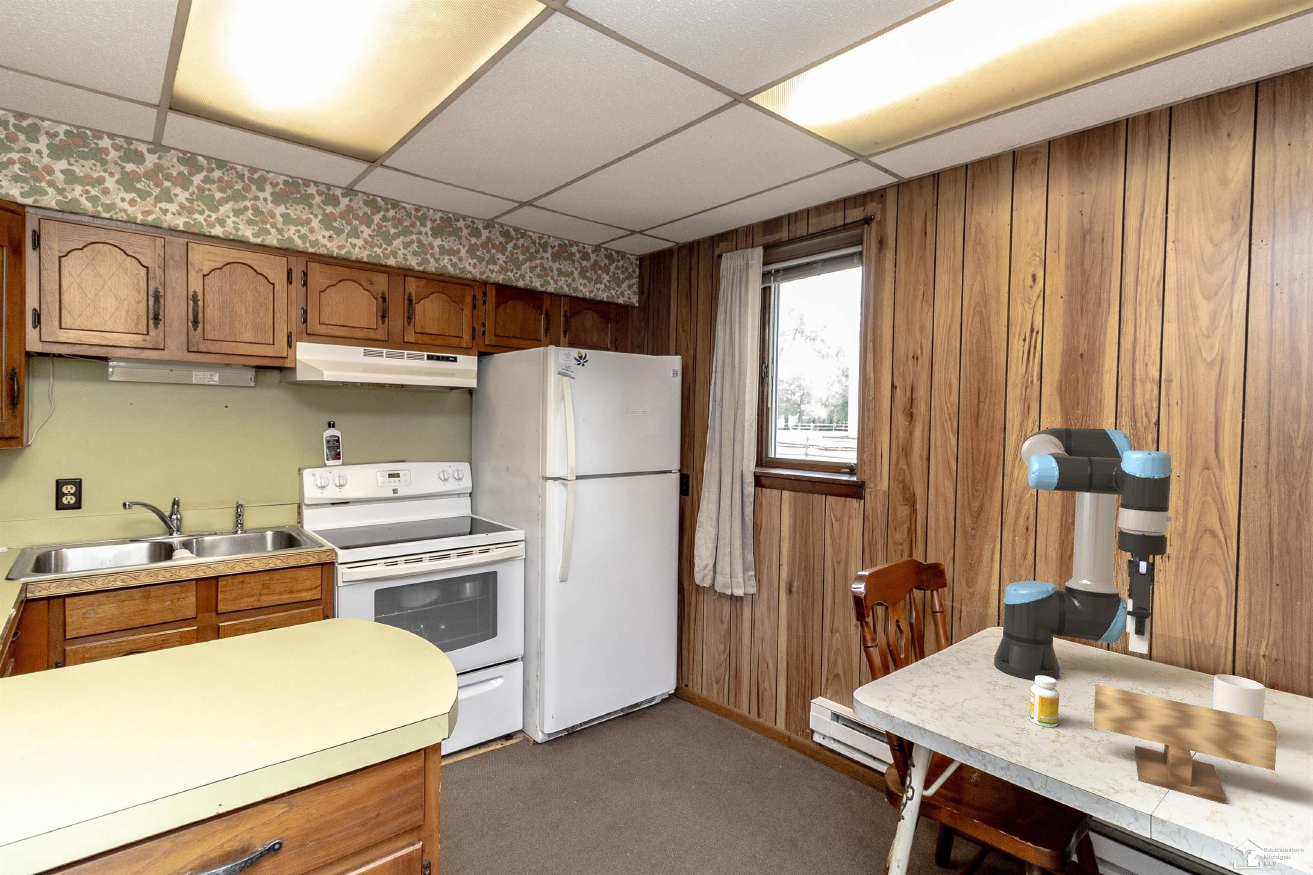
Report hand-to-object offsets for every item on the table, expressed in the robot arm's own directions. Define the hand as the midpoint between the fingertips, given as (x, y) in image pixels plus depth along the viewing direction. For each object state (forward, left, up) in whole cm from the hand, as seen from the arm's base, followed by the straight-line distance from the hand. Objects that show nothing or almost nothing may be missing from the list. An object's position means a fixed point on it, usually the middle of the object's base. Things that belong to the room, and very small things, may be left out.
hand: (1136, 642), depth 126 cm
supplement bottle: (-15, +10, -24) cm, 30 cm away
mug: (+19, +30, -24) cm, 42 cm away
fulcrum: (+7, 0, -23) cm, 24 cm away
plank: (+7, 0, -17) cm, 19 cm away
